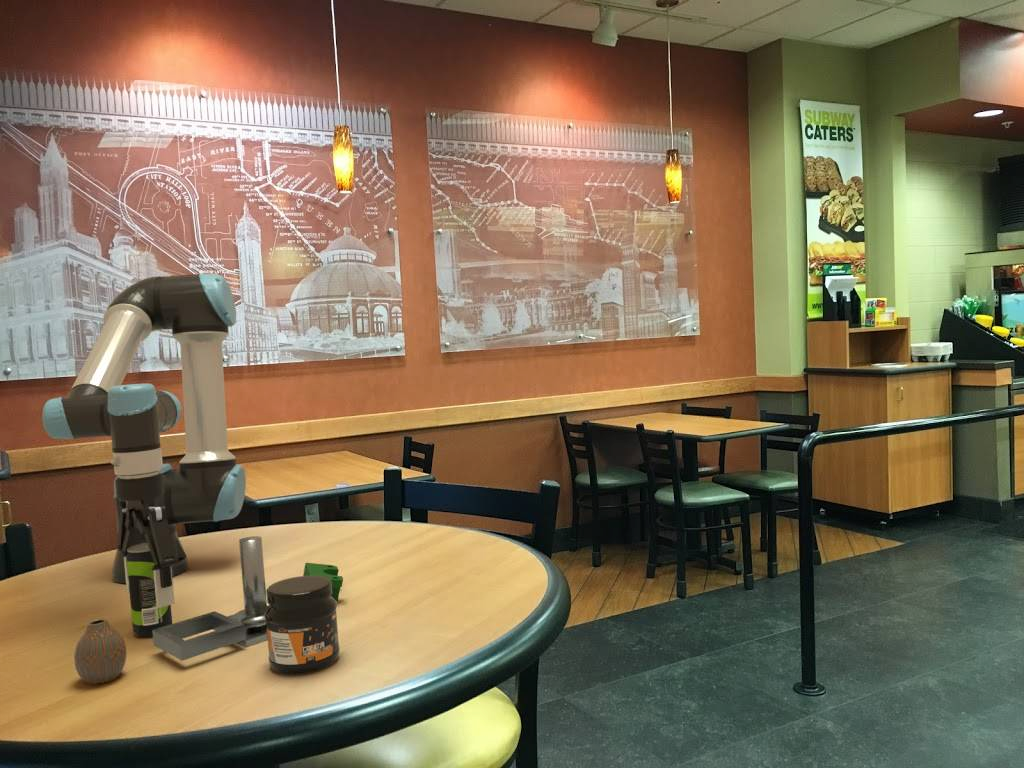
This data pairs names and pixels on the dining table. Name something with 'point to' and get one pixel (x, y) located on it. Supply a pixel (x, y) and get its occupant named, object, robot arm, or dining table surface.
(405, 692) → the dining table surface
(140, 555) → the beverage can
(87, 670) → the vase
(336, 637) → the supplement container
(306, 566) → the clamp
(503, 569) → the dining table surface
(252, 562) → the frame with upright rod
